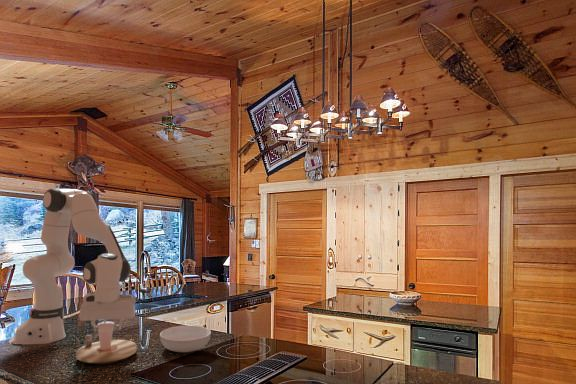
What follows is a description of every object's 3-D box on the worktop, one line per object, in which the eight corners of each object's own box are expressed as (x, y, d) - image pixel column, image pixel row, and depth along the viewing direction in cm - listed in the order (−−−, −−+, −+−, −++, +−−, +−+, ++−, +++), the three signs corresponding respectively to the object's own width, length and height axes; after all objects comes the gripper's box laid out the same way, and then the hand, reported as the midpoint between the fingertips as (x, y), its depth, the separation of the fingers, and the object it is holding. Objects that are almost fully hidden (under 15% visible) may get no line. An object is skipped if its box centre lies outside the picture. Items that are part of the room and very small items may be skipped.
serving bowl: (185, 361, 165) (185, 343, 166) (148, 351, 177) (149, 334, 177) (221, 346, 183) (221, 330, 183) (185, 337, 194) (186, 322, 194)
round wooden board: (148, 347, 176) (148, 333, 176) (108, 366, 155) (109, 351, 155) (105, 340, 183) (105, 327, 183) (62, 358, 163) (62, 343, 163)
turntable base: (84, 367, 159) (84, 363, 159) (85, 353, 173) (85, 349, 173) (130, 361, 165) (130, 357, 165) (127, 348, 180) (127, 344, 180)
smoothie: (100, 345, 172) (101, 310, 172) (116, 345, 173) (117, 310, 173) (93, 351, 166) (94, 314, 166) (110, 351, 166) (111, 314, 166)
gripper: (136, 292, 175) (135, 326, 175) (82, 294, 170) (81, 329, 170) (135, 295, 169) (134, 331, 169) (78, 298, 164) (77, 334, 164)
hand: (107, 330), depth 169 cm, fingers open, 7 cm apart
